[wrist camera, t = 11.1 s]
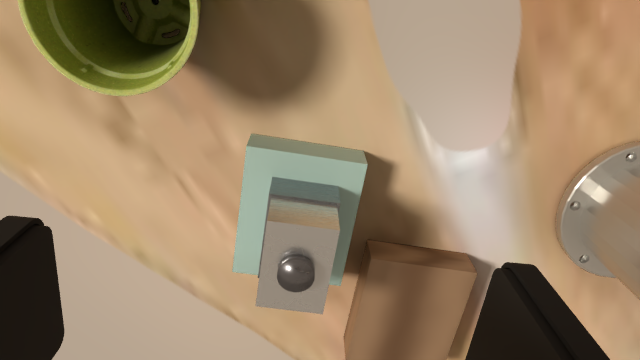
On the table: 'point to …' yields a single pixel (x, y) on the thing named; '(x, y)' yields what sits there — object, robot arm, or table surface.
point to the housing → (298, 245)
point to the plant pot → (113, 40)
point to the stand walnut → (407, 302)
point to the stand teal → (297, 164)
